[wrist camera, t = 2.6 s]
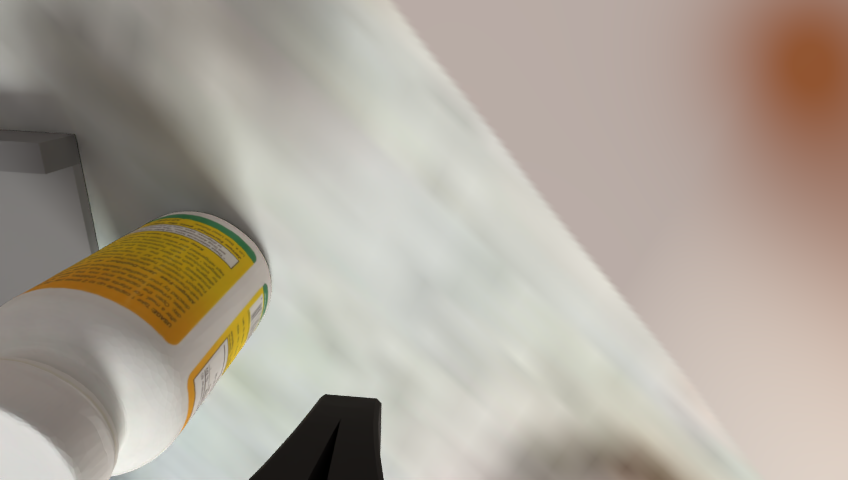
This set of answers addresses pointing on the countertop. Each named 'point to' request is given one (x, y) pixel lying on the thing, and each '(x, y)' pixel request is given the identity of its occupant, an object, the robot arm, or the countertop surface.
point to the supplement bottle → (124, 347)
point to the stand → (41, 210)
